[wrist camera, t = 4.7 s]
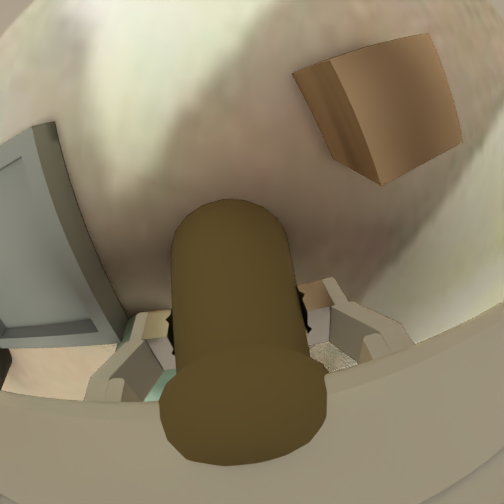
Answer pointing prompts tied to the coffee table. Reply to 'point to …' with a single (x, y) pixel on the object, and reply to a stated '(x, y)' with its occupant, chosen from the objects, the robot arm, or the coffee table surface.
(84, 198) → the coffee table surface
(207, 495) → the robot arm
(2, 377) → the travel mug
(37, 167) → the tray
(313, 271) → the coffee table surface
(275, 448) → the olive brown pawn
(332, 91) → the walnut cube
